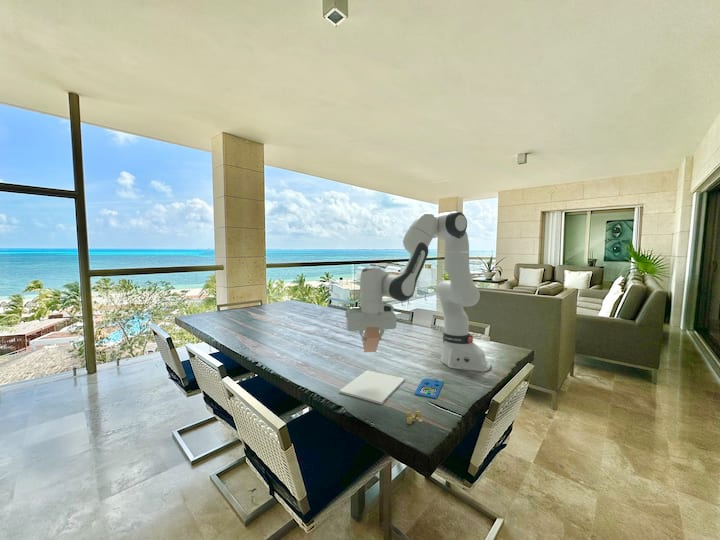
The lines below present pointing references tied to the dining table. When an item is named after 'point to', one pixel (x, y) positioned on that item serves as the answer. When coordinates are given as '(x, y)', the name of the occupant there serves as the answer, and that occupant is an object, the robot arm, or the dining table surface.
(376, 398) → the white mat
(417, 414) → the popcorn pieces
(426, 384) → the handheld gaming device
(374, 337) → the terracotta block
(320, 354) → the dining table surface
